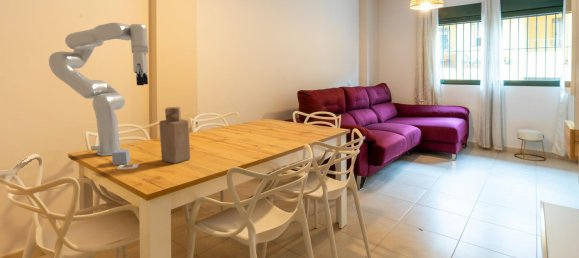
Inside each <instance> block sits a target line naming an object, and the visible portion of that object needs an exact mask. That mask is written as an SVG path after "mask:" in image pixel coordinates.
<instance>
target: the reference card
mask: <svg viewBox="0 0 579 258" xmlns="http://www.w3.org/2000/svg"><path fill="white" fill-rule="evenodd" d="M139 166H140V164H139V163H135V164H134V163H133V164H124V165H118V166H117V168H116V169H117V170H131V169H133V170H134V169H138V168H139Z"/></svg>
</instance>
